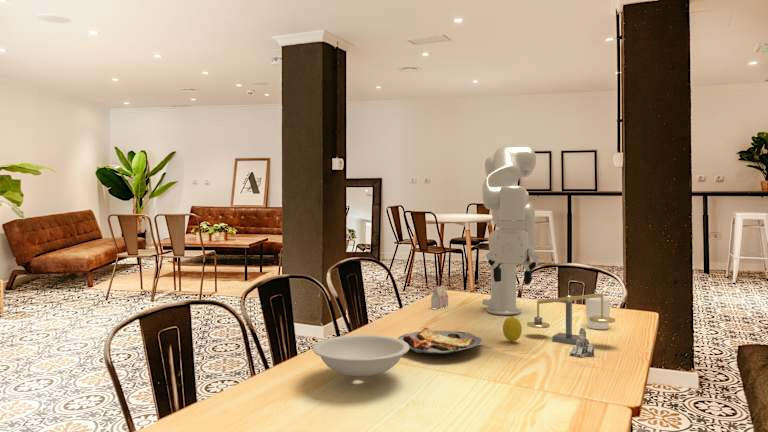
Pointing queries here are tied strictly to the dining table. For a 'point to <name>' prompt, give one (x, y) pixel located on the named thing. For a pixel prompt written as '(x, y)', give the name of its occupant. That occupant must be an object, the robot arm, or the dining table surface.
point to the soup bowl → (361, 353)
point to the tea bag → (439, 298)
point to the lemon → (512, 329)
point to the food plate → (440, 341)
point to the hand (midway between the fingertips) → (512, 282)
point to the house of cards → (582, 346)
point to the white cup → (597, 311)
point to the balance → (569, 317)
